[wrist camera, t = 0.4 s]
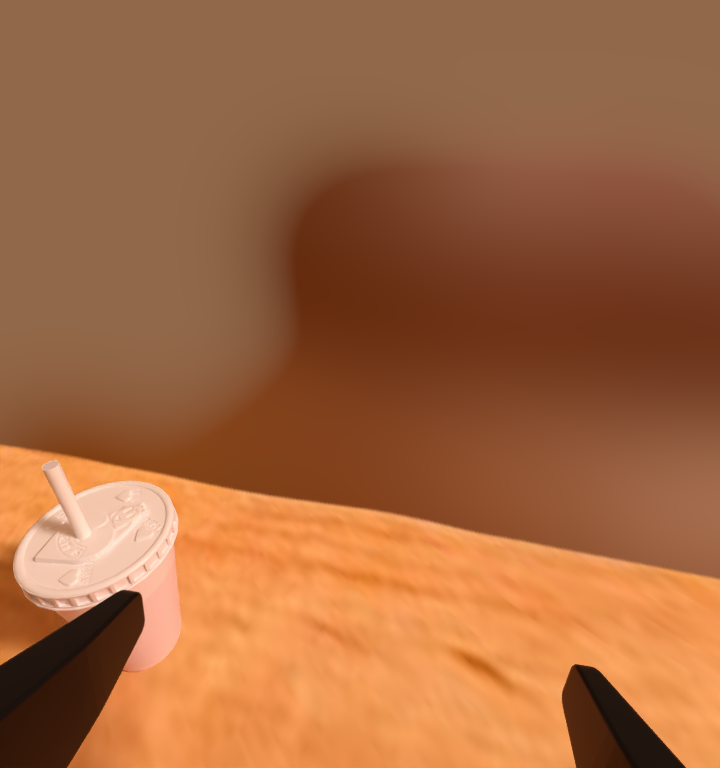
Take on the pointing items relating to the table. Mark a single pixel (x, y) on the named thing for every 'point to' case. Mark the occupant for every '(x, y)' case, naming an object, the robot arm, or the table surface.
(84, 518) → the smoothie
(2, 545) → the table surface
